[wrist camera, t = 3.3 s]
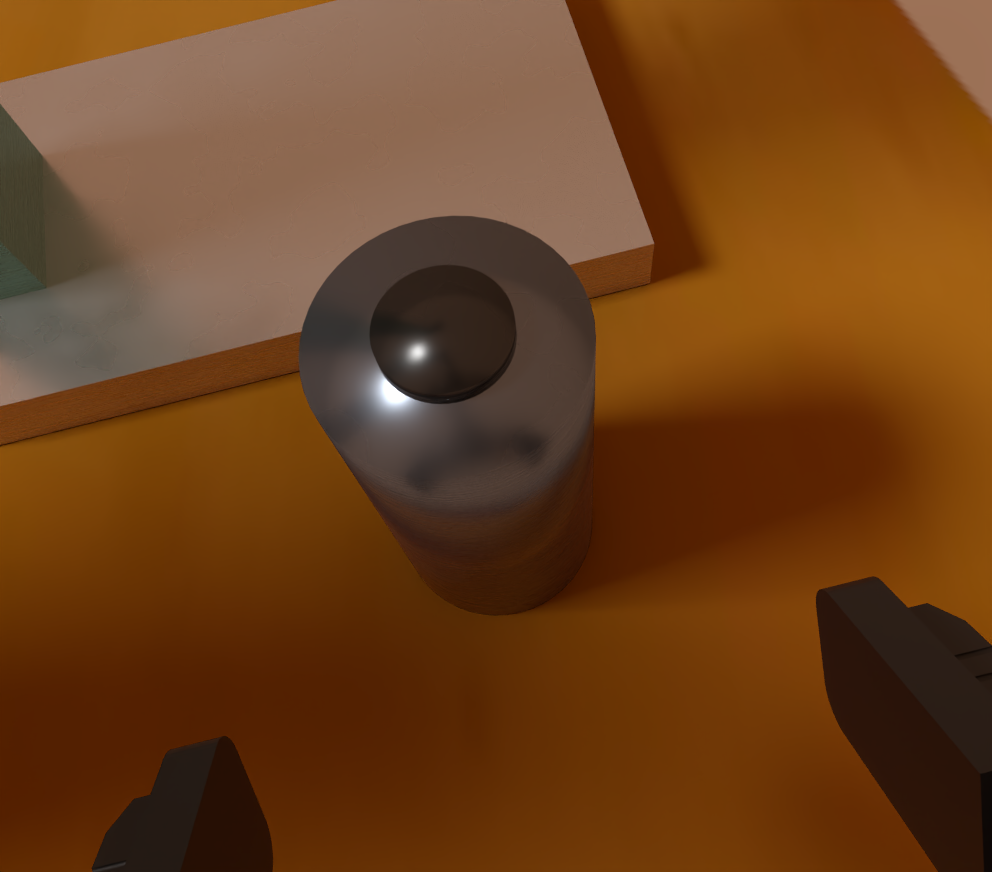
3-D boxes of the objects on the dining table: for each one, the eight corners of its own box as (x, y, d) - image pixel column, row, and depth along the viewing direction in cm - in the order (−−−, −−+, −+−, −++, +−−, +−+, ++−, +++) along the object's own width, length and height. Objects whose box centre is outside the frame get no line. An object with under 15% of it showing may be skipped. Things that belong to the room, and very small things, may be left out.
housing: (425, 635, 23) (314, 505, 14) (390, 460, 25) (273, 241, 16) (614, 588, 23) (633, 425, 14) (564, 417, 25) (552, 171, 16)
